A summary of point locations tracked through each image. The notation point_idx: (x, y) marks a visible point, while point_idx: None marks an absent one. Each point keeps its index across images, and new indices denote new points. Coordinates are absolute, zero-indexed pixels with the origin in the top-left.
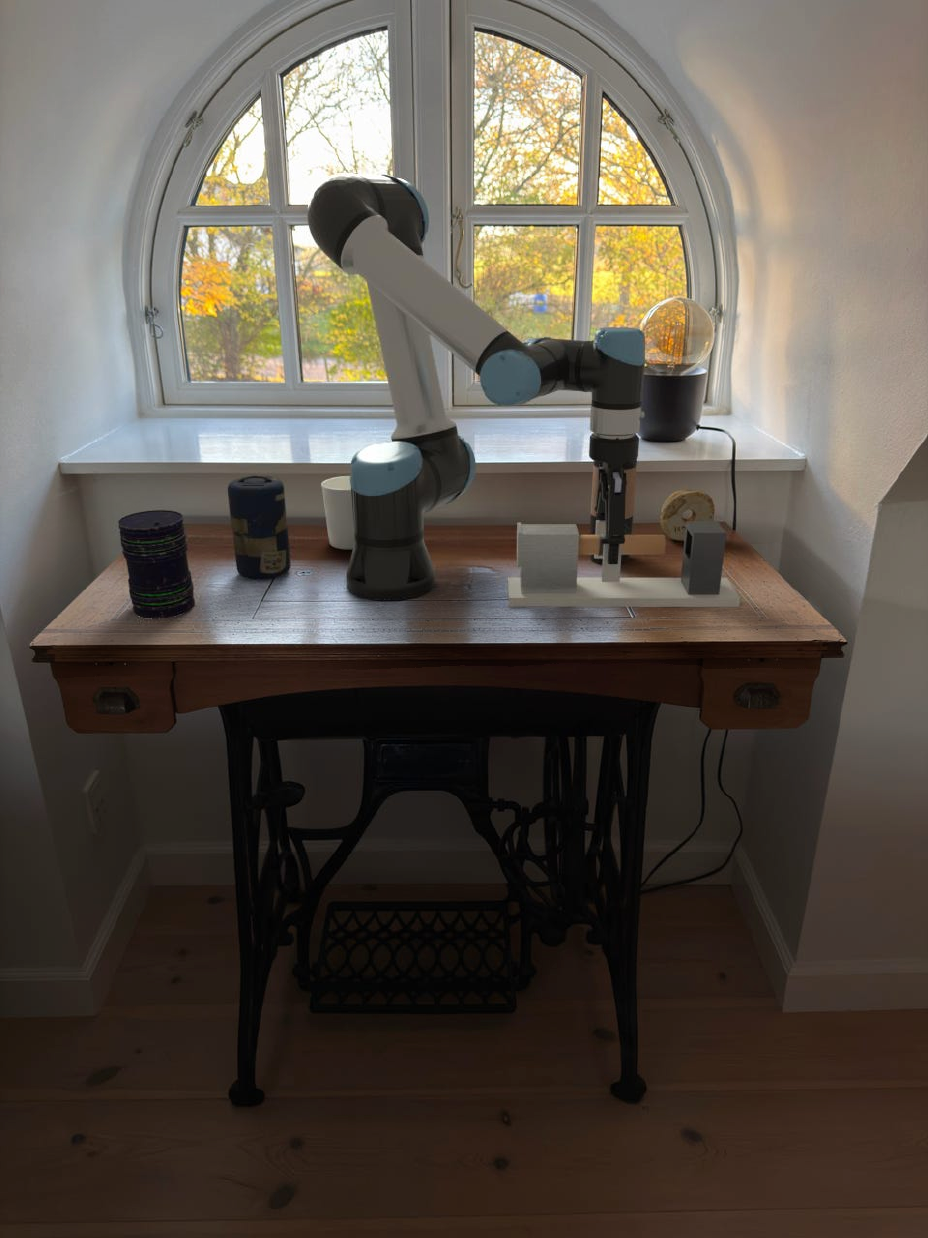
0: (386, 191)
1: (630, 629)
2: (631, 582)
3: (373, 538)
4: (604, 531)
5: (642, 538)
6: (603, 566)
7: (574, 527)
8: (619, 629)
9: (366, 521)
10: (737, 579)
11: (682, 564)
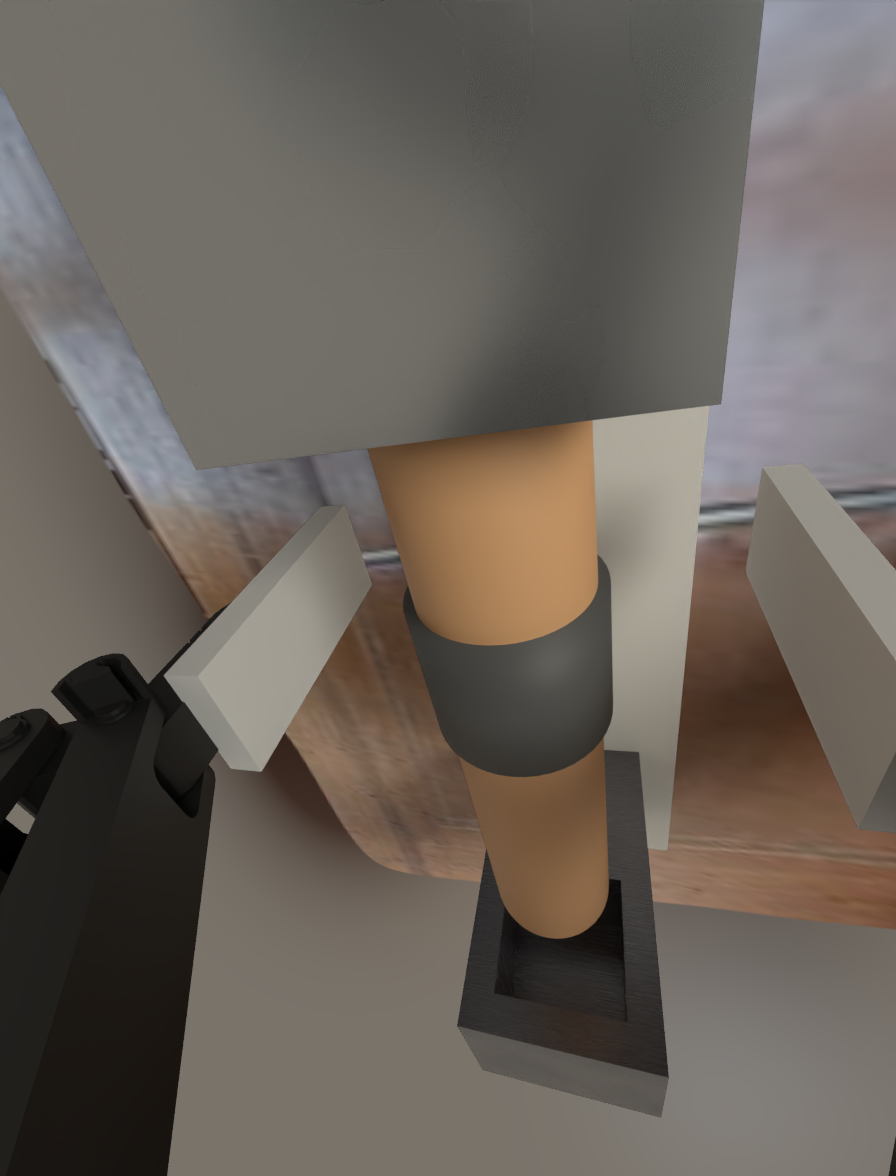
0: None
1: (247, 545)
2: (621, 601)
3: None
4: (833, 675)
5: (498, 853)
6: (275, 559)
7: (510, 382)
8: (230, 511)
9: None
10: (722, 856)
11: (641, 816)
